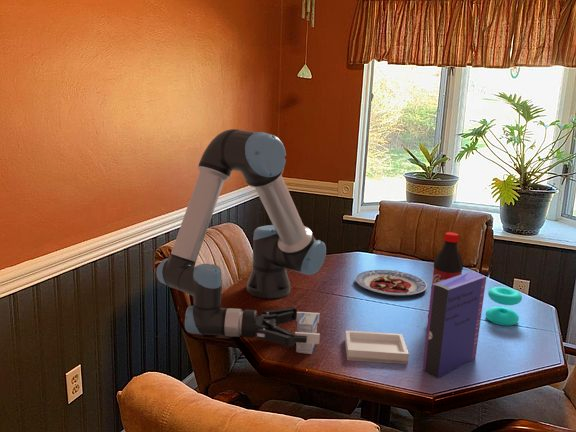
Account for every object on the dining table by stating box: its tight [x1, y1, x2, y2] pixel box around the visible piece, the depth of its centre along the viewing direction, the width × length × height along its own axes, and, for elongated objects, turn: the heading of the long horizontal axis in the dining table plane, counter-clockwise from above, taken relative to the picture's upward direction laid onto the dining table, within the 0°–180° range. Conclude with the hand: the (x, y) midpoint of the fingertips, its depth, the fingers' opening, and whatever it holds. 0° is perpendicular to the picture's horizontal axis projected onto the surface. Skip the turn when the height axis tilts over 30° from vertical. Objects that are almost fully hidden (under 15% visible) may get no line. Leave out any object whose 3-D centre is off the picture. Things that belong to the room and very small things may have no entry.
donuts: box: [485, 286, 523, 326], centre depth 179 cm, size 10×10×10 cm
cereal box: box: [421, 271, 487, 379], centre depth 147 cm, size 17×5×24 cm, turn 131°
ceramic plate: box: [355, 269, 428, 296], centre depth 206 cm, size 26×26×3 cm
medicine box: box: [295, 312, 318, 355], centre depth 155 cm, size 8×4×9 cm, turn 168°
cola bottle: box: [427, 232, 464, 314], centre depth 169 cm, size 8×8×30 cm
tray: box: [344, 330, 410, 365], centre depth 154 cm, size 12×16×3 cm
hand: (319, 327), depth 154 cm, fingers open, 13 cm apart
